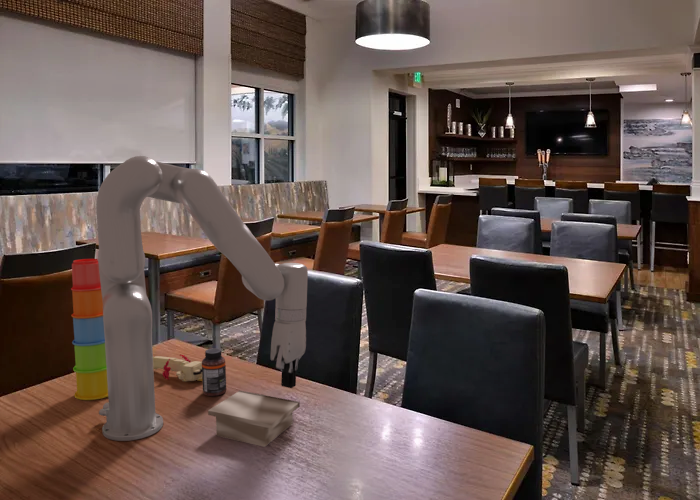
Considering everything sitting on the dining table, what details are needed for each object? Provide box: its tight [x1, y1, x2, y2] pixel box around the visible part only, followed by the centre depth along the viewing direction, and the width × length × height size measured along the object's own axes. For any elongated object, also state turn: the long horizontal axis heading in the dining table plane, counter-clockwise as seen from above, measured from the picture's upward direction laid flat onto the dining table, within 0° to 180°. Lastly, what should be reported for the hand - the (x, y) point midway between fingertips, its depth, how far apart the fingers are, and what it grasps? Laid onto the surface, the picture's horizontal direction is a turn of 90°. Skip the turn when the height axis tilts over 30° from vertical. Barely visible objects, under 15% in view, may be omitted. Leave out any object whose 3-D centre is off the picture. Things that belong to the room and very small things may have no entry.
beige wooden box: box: [207, 390, 301, 448], centre depth 124 cm, size 12×16×6 cm
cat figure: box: [153, 354, 202, 383], centre depth 157 cm, size 10×9×25 cm
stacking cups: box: [70, 258, 108, 401], centre depth 141 cm, size 10×10×35 cm
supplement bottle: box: [201, 347, 227, 397], centre depth 144 cm, size 6×6×11 cm
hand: (288, 386), depth 139 cm, fingers closed
